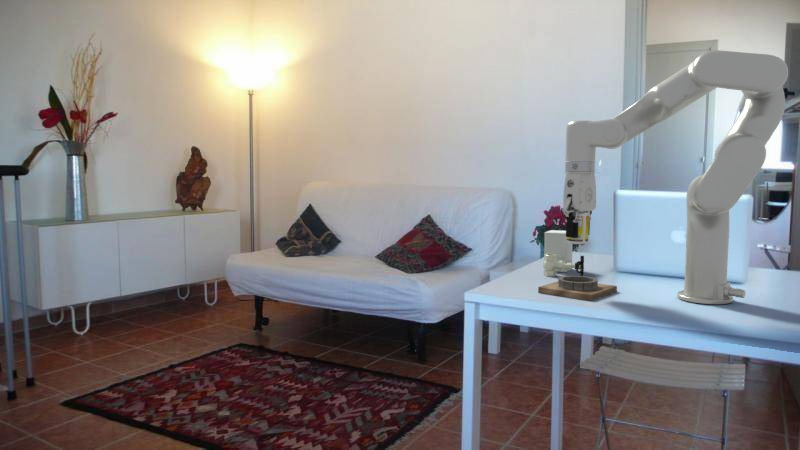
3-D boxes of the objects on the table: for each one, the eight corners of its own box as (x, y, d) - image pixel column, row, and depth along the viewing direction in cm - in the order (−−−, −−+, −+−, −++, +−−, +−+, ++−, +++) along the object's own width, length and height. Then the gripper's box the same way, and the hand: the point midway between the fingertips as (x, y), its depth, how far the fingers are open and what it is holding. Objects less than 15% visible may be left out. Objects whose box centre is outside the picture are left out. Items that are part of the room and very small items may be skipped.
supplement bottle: (581, 241, 166) (582, 203, 165) (592, 244, 161) (593, 205, 160) (562, 242, 165) (563, 204, 164) (573, 244, 160) (574, 205, 159)
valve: (542, 277, 186) (583, 279, 183) (542, 255, 186) (584, 257, 182) (543, 273, 193) (583, 275, 189) (543, 252, 192) (583, 254, 189)
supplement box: (572, 269, 199) (573, 230, 198) (566, 272, 193) (566, 233, 192) (550, 267, 203) (551, 229, 202) (543, 270, 197) (543, 231, 196)
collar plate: (616, 291, 164) (617, 278, 164) (590, 300, 154) (590, 287, 153) (566, 284, 175) (566, 272, 174) (538, 292, 164) (538, 279, 164)
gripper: (577, 168, 152) (574, 240, 154) (608, 168, 165) (605, 234, 166) (550, 168, 157) (548, 238, 159) (582, 167, 170) (580, 232, 172)
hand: (577, 235), depth 163 cm, fingers closed on supplement bottle, 5 cm apart
